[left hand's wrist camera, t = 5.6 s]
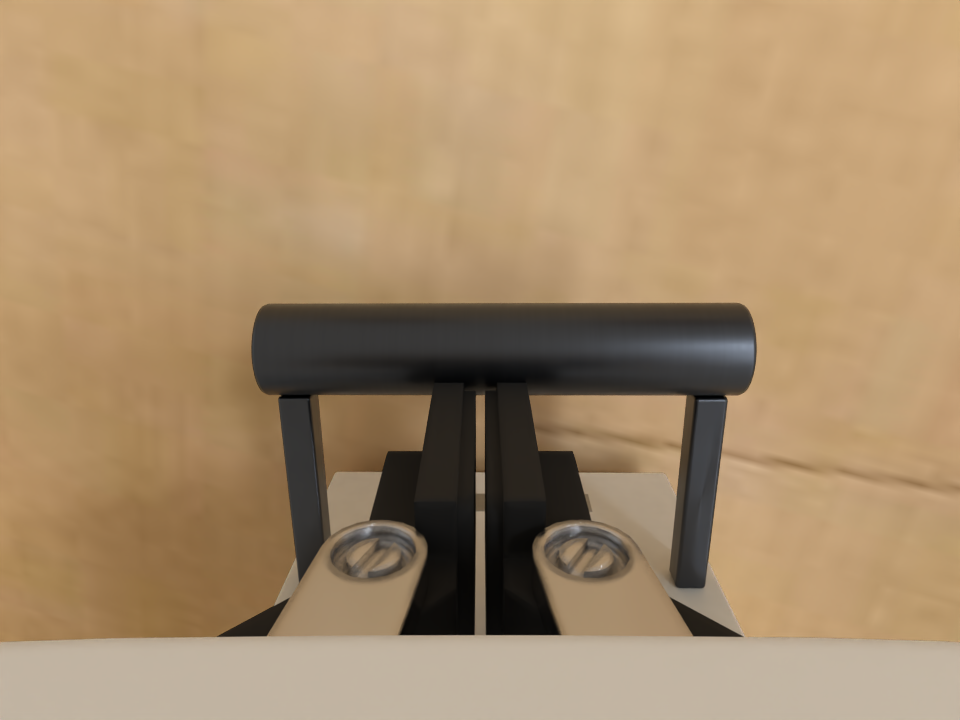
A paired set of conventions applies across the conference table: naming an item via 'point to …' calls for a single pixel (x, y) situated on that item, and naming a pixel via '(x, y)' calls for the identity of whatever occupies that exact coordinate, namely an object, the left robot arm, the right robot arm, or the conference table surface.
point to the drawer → (547, 371)
